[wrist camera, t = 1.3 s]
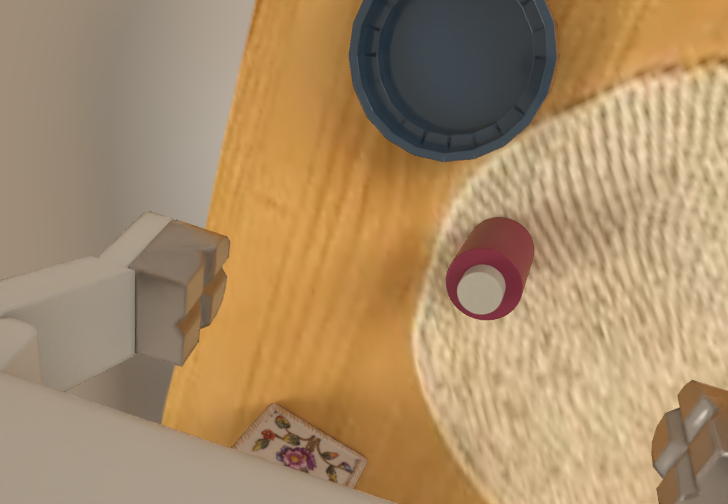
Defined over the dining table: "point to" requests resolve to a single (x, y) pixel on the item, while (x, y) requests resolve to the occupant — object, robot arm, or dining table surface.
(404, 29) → the bowl
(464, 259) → the yogurt bottle
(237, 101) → the dining table surface
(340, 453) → the decorative jar
